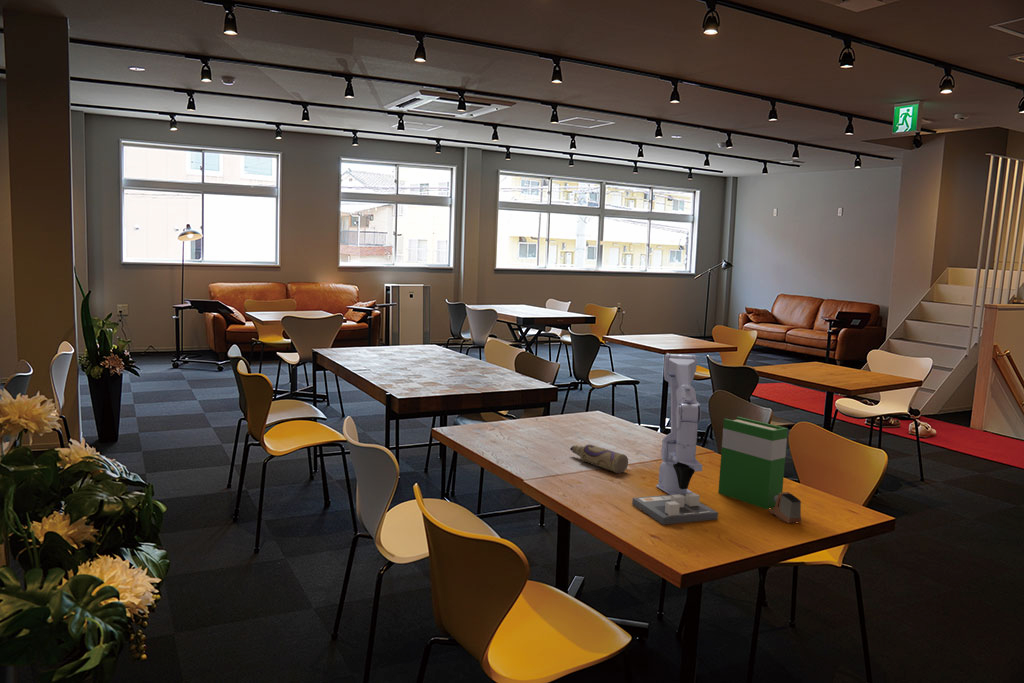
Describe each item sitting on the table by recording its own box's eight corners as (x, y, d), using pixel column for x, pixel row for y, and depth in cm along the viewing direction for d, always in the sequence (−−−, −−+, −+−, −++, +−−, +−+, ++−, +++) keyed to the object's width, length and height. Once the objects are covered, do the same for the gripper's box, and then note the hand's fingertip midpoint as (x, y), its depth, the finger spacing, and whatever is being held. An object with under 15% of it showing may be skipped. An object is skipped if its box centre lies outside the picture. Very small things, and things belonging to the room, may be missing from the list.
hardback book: (718, 492, 231) (723, 418, 228) (732, 489, 235) (738, 416, 233) (766, 509, 217) (773, 431, 214) (781, 505, 221) (787, 428, 219)
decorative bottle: (629, 472, 250) (630, 453, 249) (613, 475, 245) (614, 456, 245) (579, 454, 270) (580, 436, 270) (563, 457, 266) (564, 439, 265)
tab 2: (685, 503, 212) (685, 493, 212) (693, 502, 213) (694, 493, 213) (690, 506, 210) (690, 496, 210) (698, 505, 211) (699, 495, 211)
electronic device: (779, 511, 215) (782, 487, 214) (801, 523, 206) (804, 498, 205) (767, 513, 214) (769, 488, 213) (788, 525, 205) (791, 499, 204)
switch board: (632, 504, 216) (632, 497, 216) (684, 499, 223) (684, 493, 222) (662, 524, 201) (663, 517, 200) (717, 519, 207) (718, 511, 207)
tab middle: (670, 505, 211) (671, 494, 210) (679, 504, 212) (680, 494, 211) (675, 507, 208) (675, 497, 208) (684, 507, 209) (684, 496, 209)
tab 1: (664, 512, 204) (665, 502, 204) (674, 511, 205) (674, 501, 205) (669, 515, 202) (670, 504, 202) (678, 514, 203) (679, 504, 203)
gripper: (661, 438, 220) (658, 481, 221) (688, 450, 206) (685, 497, 208) (681, 437, 222) (678, 480, 224) (709, 449, 209) (706, 495, 210)
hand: (683, 488), depth 216 cm, fingers closed
